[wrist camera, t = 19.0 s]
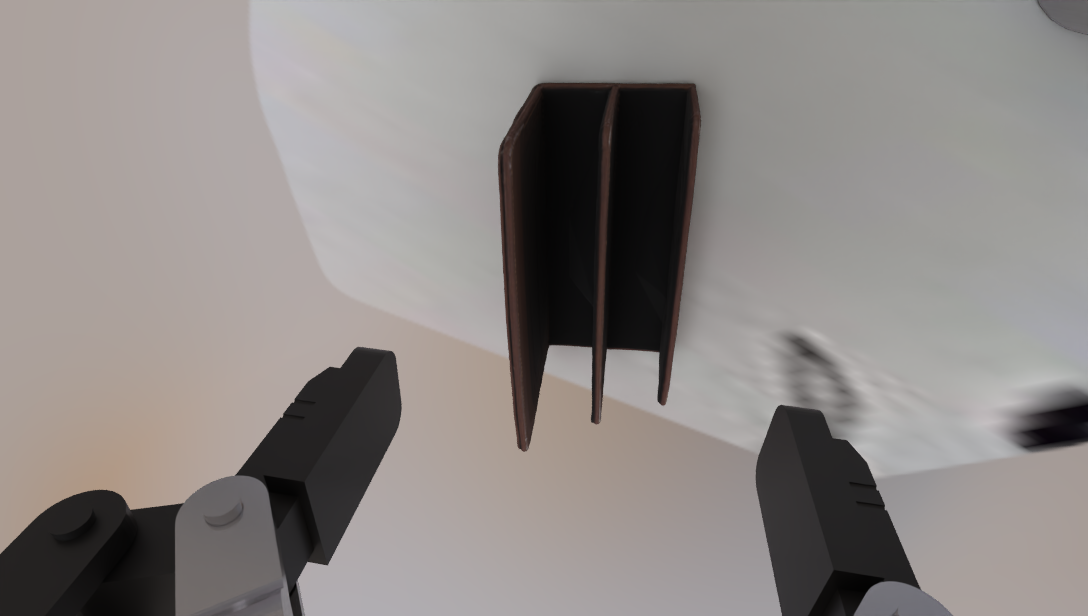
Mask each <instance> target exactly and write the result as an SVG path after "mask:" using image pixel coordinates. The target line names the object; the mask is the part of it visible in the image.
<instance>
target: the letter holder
mask: <svg viewBox="0 0 1088 616" xmlns="http://www.w3.org/2000/svg"><path fill="white" fill-rule="evenodd" d="M700 118H701V116H700V109H699V104H698V96H697V91H696V86H695V84H615V83H542V84H538V85H536V86H534V87H533V89H532V91H531V92H530V94H529V96H528V98H527V99H526V101H525V103H524V104H523V106H522V107H521V109H520V110H519V112H518V113H517V115H516V117H515V119H514V121H513V124H512V126H511V128H510V129H509V131H508V133H507V135H506V136H505V138H504V140H503V141H502V143H501V145H500V149H499V155H498V175H499V192H500V212H501V234H502V254H503V273H504V290H505V308H506V324H507V337H508V349H509V360H510V372H511V384H512V396H513V408H514V419H515V426H516V434H517V444H518V448H519V449H521V450H522V451H524V452H525V451H527V450H528V448H529V444H530V441H531V435H532V430H533V426H534V420H535V415H536V411H537V404H538V398H539V391H540V387H541V383H542V376H543V372H544V366H545V361H546V357H547V351H548V348H549V345H564V346H580V347H592V415H591V422H592V423H595V424H599V423H600V420H601V409H602V398H603V384H604V371H605V361H606V352H607V349H622V350H638V351H652V352H660V355H659V386H658V402H659V403H660V404H661V405H665V404H666V401H667V397H668V392H669V385H670V378H671V370H672V362H673V354H674V347H675V340H676V334H677V326H678V317H679V310H680V301H681V293H682V286H683V276H684V268H685V259H686V252H687V241H688V233H689V225H690V218H691V210H692V202H693V193H694V183H695V175H696V165H697V153H698V145H699V136H700V127H701V119H700Z"/></svg>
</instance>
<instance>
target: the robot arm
mask: <svg viewBox="0 0 1088 616" xmlns="http://www.w3.org/2000/svg"><path fill="white" fill-rule="evenodd" d="M1038 1H1039V4H1040V6H1041V7H1042V9H1043V10H1044V11H1045V12H1046V14H1047V15H1048V16H1049V17H1050V19H1052V20H1053V21H1055V22H1056V23H1058V24H1059V25H1061V26H1062V27H1064V28H1066V29H1069V30H1073V31H1076V32H1079V33H1083V34H1087V35H1088V0H1038ZM400 417H401V396H400V389H399V380H398V372H397V364H396V357H395V354H394V353H393V352H392V351H386V350H379V349H371V348H364V347H357V348H356V349H354V350H353V352H352V353H351V354H350V356H349V357H348V359H347V360H346V361H345V363H344V364H343V365H342V367H341V368H334V367H329V368H327V369H326V370H324V371H323V372H322V373H320V374H318V375H317V376H316V377H314V378H312V379H311V380H310V381H308V383H307V384H306V385H305V386H304V388H303V389H302V390H301V392H300V393H299V394H298V396H297V397H296V398H295V402H294V403H291V404H290V406H289V407H288V408H287V410H286V411H285V412H284V414H283V418H280V419H279V420H278V421H277V423H276V424H275V425H274V426H273V428H272V429H271V430H270V432H269V433H268V434H267V435H266V437H265V438H264V439H263V441H262V442H261V443H260V445H259V446H258V447H257V448H256V450H255V451H254V452H253V453H252V455H251V456H250V457H249V459H248V460H247V461H246V463H245V464H244V465H243V467H242V468H241V469H240V470H239V472H238V473H237V474H236V475H235V476H230V477H225V478H221V479H219V480H216V481H213V482H211V483H209V484H207V485H205V486H203V487H202V488H200V489H199V490H197V491H196V492H195V493H194V494H192V495H191V496H190V497H189V498H188V499H187V500H186V501H185V503H182V504H175V505H167V506H159V507H150V508H143V509H135V510H130V509H129V507H128V505H127V504H126V502H125V500H124V499H123V497H122V496H121V495H119V494H117V493H115V492H113V491H108V490H93V491H87V492H83V493H80V494H76V495H73V496H71V497H69V498H66V499H64V500H62V501H60V502H59V503H56V504H55V505H53V506H51V507H50V508H48V509H47V510H45V511H44V512H43V513H42V514H40V515H39V516H38V517H37V518H36V519H35V520H34V521H33V522H32V523H31V524H30V525H29V526H28V527H27V528H26V529H25V530H24V531H23V532H22V533H21V534H20V535H19V536H18V537H17V538H16V539H15V540H14V541H13V542H12V543H11V544H10V545H9V546H8V547H7V548H6V549H5V550H4V551H3V552H2V553H1V554H0V616H305V614H304V609H303V603H302V598H301V593H300V588H299V583H298V578H299V576H300V574H301V572H302V571H303V569H304V567H305V565H306V563H307V562H312V563H318V564H323V565H328V564H329V561H330V560H331V558H332V556H333V554H334V552H335V550H336V548H337V546H338V544H339V542H340V540H341V538H342V536H343V534H344V533H345V530H346V528H347V527H348V525H349V523H350V521H351V519H352V517H353V515H354V513H355V511H356V509H357V507H358V505H359V503H360V501H361V499H362V498H363V496H364V494H365V492H366V490H367V488H368V486H369V484H370V482H371V480H372V478H373V476H374V474H375V472H376V470H377V468H378V466H379V464H380V462H381V460H382V459H383V457H384V455H385V452H386V451H387V449H388V447H389V445H390V443H391V441H392V439H393V437H394V435H395V433H396V431H397V428H398V426H399V421H400ZM756 487H757V493H758V497H759V502H760V508H761V513H762V518H763V522H764V527H765V532H766V538H767V542H768V547H769V552H770V557H771V562H772V567H773V572H774V577H775V582H776V587H777V592H778V596H779V602H780V607H781V612H782V616H953V615H952V614H951V613H950V612H949V611H948V610H947V609H946V608H945V607H944V606H943V605H942V604H941V603H940V602H939V601H937V600H936V599H934V598H933V597H932V596H930V595H928V594H927V593H925V592H924V591H922V590H921V589H920V587H919V585H918V582H917V580H916V578H915V575H914V573H913V570H912V568H911V566H910V563H909V561H908V559H907V557H906V554H905V552H904V549H903V547H902V545H901V542H900V540H899V537H898V535H897V533H896V530H895V528H894V526H893V523H892V521H891V519H890V516H889V514H888V512H887V511H886V510H885V508H884V507H885V505H884V502H883V500H882V497H881V495H880V493H879V491H877V490H876V483H875V481H874V479H873V476H872V474H871V471H870V469H869V467H868V464H867V462H866V461H865V460H864V459H863V458H862V457H861V455H860V454H859V453H858V452H857V451H856V450H855V449H854V448H853V447H852V446H851V444H850V443H849V442H848V441H847V440H841V439H834V438H832V436H831V433H830V431H829V428H828V425H827V423H826V420H825V417H824V415H823V413H822V412H821V411H820V410H815V409H807V408H800V407H793V406H785V405H780V406H778V407H777V409H776V411H775V413H774V416H773V418H772V421H771V424H770V427H769V429H768V432H767V435H766V438H765V440H764V443H763V446H762V448H761V451H760V454H759V457H758V461H757V466H756Z"/></svg>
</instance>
